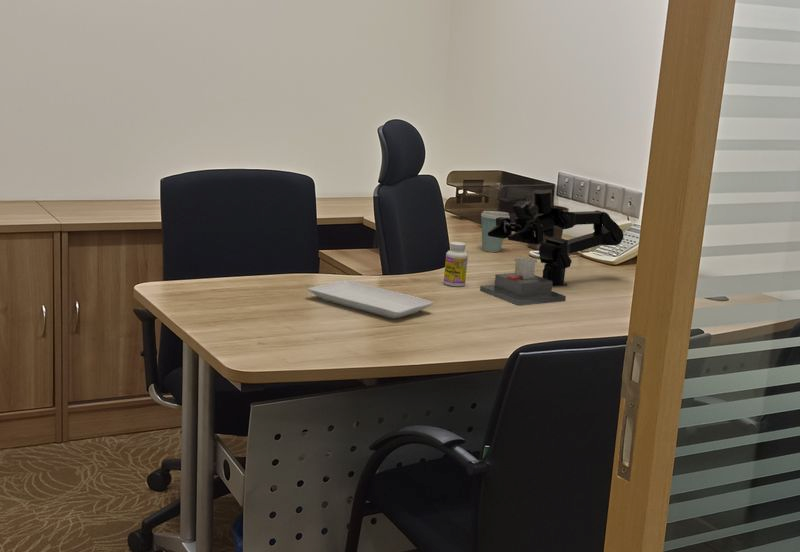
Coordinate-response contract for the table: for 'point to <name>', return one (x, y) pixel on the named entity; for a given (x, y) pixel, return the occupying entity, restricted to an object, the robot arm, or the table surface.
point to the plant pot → (557, 232)
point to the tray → (370, 298)
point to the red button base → (522, 290)
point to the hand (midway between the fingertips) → (498, 236)
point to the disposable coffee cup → (488, 224)
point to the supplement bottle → (456, 265)
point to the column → (525, 268)
